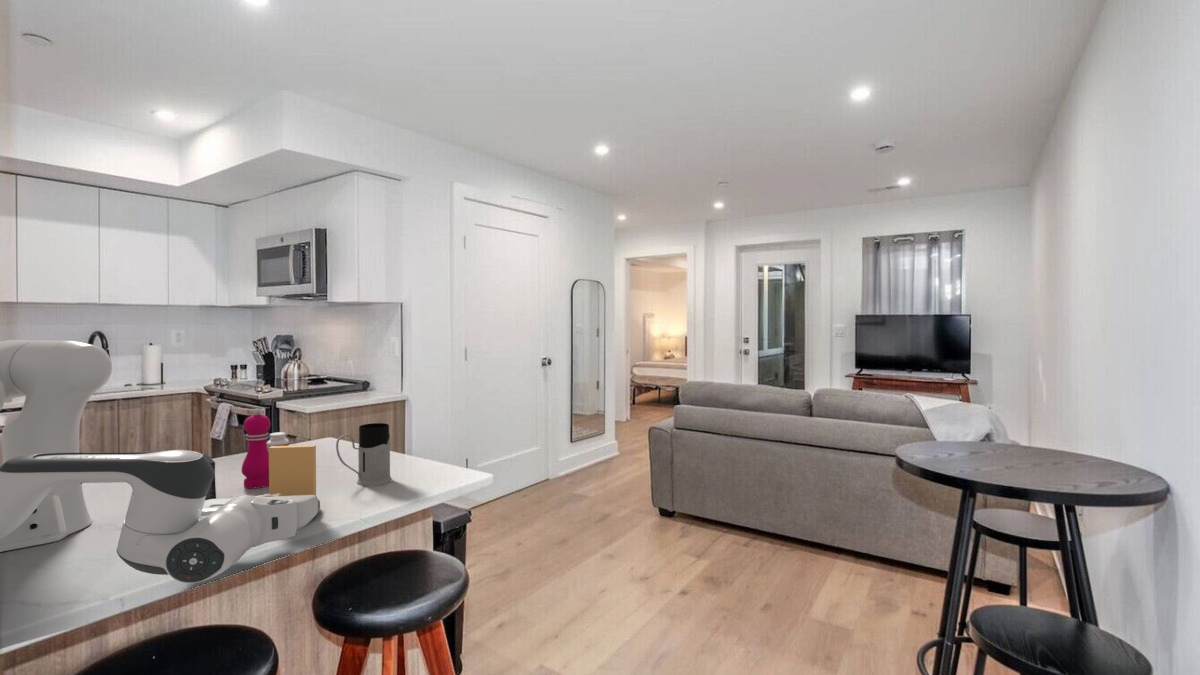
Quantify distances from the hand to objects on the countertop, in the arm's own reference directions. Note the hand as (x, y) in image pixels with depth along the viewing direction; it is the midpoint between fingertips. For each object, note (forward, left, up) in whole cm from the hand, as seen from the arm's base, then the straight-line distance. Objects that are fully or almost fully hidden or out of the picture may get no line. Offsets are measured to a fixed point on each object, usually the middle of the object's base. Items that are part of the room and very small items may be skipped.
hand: (273, 497), depth 113 cm
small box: (-3, +35, -8) cm, 36 cm away
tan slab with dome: (+5, +9, -6) cm, 12 cm away
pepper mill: (+12, +39, -8) cm, 42 cm away
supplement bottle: (+22, +51, -8) cm, 56 cm away
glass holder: (+30, +19, -8) cm, 37 cm away
